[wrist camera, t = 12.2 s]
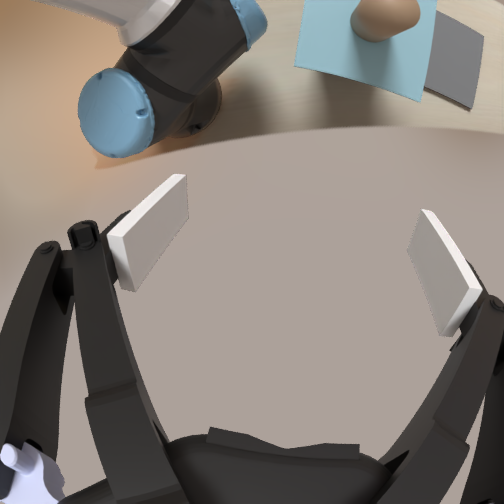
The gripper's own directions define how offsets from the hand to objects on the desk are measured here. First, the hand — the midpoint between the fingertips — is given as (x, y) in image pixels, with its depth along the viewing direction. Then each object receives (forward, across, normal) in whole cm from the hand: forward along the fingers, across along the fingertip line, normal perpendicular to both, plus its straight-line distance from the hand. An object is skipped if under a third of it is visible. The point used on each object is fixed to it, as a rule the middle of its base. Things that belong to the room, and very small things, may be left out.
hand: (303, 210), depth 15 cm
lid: (+19, +6, +15) cm, 24 cm away
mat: (+36, +23, +18) cm, 47 cm away
